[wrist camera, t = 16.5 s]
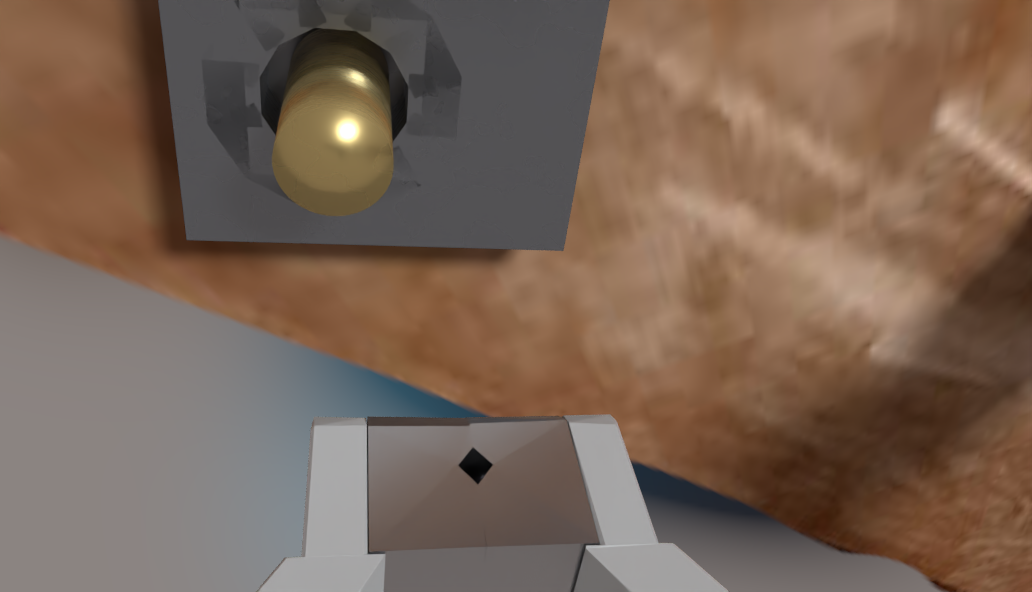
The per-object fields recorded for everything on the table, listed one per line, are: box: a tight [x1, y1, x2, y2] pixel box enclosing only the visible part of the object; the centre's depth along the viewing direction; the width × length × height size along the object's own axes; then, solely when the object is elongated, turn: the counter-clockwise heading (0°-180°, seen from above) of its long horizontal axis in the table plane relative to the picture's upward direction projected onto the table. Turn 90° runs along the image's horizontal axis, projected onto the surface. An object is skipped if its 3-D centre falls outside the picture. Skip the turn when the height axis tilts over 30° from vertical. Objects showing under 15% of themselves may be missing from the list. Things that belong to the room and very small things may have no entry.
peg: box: [272, 28, 394, 216], centre depth 32 cm, size 4×4×8 cm
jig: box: [158, 0, 610, 251], centre depth 34 cm, size 16×13×4 cm
